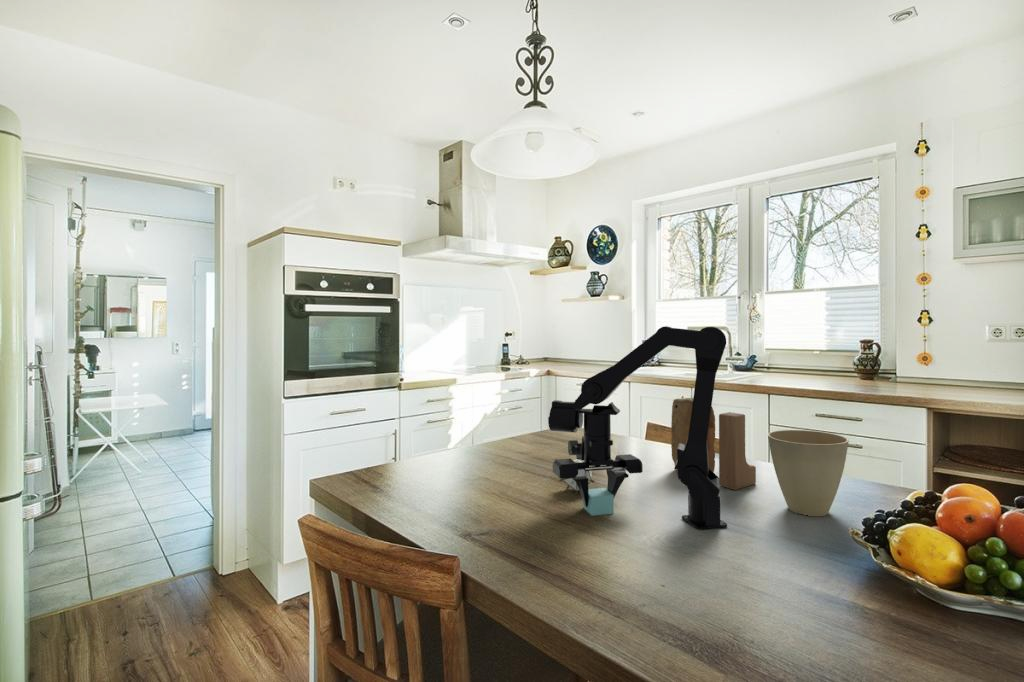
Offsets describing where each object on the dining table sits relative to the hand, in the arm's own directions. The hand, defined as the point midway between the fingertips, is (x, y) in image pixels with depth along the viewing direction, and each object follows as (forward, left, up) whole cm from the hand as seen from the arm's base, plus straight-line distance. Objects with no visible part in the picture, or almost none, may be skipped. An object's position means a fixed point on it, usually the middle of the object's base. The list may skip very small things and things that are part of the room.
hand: (597, 505), depth 111 cm
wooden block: (+8, -40, -1) cm, 41 cm away
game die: (+13, 0, -1) cm, 14 cm away
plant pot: (-11, -43, -1) cm, 44 cm away
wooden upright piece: (+21, -36, -1) cm, 42 cm away
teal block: (0, 0, -1) cm, 1 cm away
